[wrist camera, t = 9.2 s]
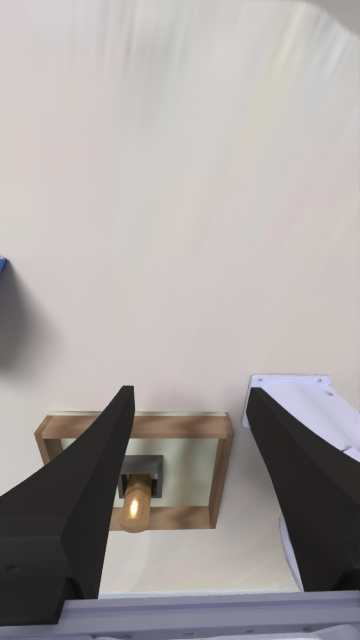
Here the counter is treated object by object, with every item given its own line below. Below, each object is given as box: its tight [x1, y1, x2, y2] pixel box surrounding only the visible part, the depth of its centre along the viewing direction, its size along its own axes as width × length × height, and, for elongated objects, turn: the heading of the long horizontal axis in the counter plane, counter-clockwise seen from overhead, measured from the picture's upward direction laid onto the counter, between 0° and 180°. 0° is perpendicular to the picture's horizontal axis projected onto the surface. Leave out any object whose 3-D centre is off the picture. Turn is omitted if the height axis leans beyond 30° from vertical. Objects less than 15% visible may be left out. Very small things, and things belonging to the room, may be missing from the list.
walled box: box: [34, 411, 234, 531], centre depth 27 cm, size 22×20×3 cm
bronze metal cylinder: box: [120, 474, 153, 533], centre depth 25 cm, size 3×3×6 cm
